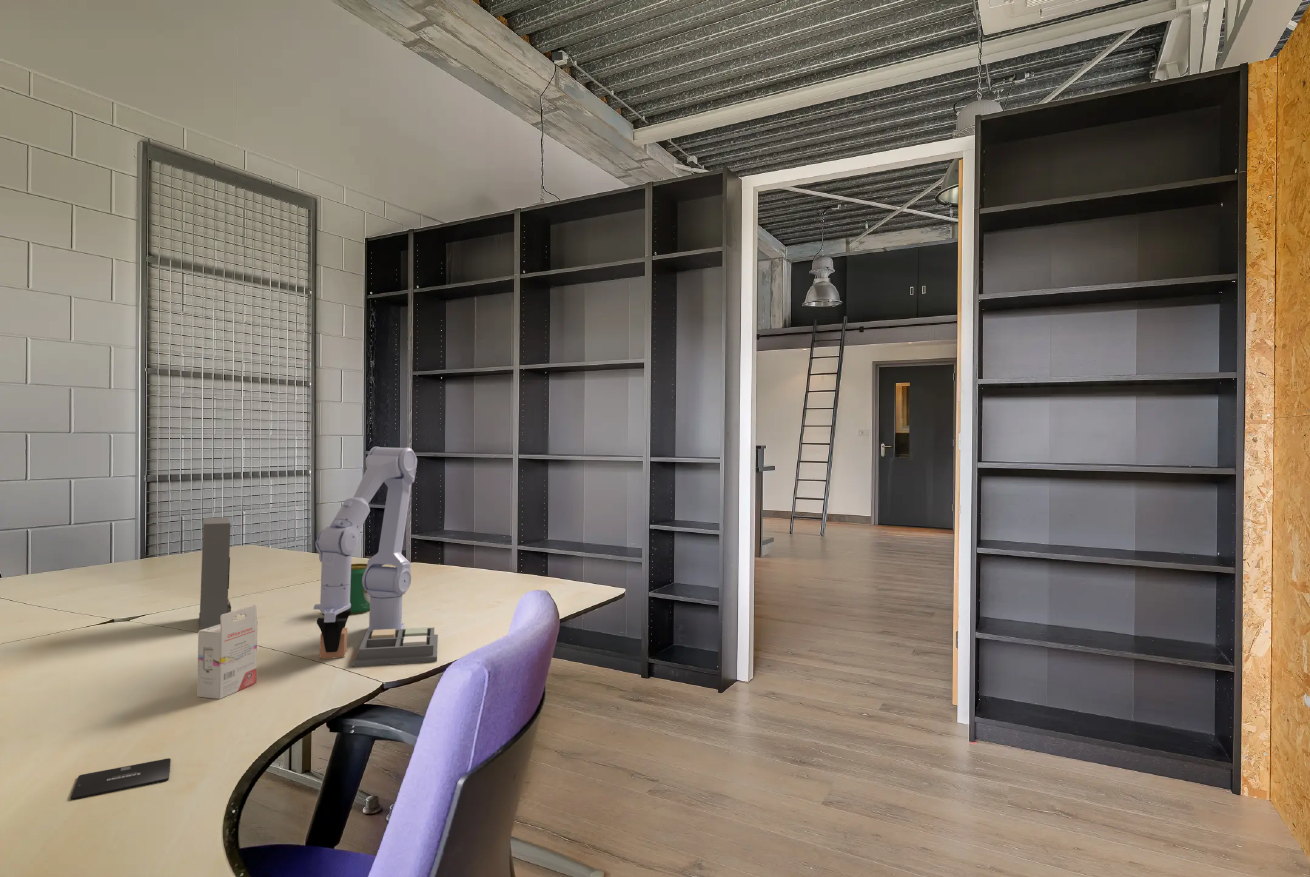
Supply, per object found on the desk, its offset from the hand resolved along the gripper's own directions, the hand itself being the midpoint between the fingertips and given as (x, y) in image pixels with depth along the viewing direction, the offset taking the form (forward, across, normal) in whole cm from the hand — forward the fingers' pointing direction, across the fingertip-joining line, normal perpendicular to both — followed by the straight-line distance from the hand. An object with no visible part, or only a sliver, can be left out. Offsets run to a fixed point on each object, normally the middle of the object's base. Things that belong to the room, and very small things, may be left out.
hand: (333, 648), depth 144 cm
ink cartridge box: (+2, +18, -15) cm, 23 cm away
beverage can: (+2, -39, 0) cm, 39 cm away
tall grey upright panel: (+2, -32, -31) cm, 45 cm away
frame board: (+1, 0, +13) cm, 13 cm away
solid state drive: (+2, +51, -18) cm, 54 cm away
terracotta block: (+1, 0, 0) cm, 1 cm away
